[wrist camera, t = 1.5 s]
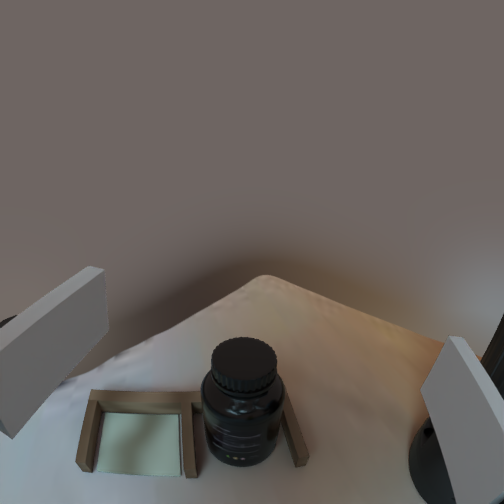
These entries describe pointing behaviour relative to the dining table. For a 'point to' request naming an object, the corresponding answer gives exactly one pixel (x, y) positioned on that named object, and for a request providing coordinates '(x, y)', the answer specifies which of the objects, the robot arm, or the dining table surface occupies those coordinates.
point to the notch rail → (155, 433)
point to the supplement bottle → (242, 402)
